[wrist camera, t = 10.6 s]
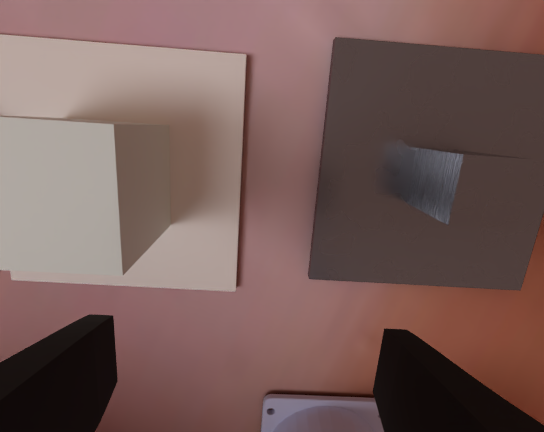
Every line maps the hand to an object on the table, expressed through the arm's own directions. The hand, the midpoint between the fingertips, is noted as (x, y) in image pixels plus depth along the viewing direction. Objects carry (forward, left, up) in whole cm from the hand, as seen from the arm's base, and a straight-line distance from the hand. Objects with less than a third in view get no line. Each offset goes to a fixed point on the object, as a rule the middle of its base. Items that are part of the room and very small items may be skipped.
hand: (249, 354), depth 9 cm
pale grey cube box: (+3, +7, -9) cm, 12 cm away
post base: (+4, -9, -9) cm, 14 cm away
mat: (+3, +7, -9) cm, 12 cm away
